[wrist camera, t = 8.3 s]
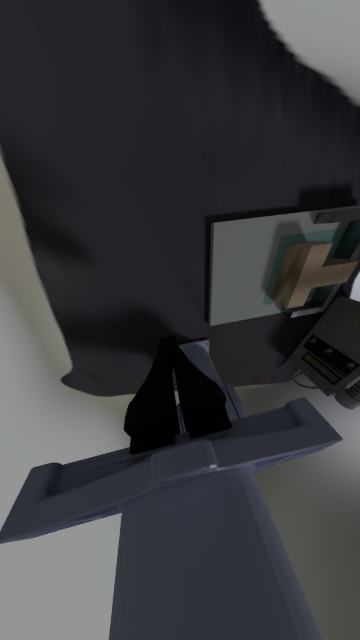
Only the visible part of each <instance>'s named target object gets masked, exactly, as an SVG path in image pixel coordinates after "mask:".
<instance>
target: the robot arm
mask: <svg viewBox="0 0 360 640" xmlns="http://www.w3.org/2000/svg"><path fill="white" fill-rule="evenodd" d="M172 364H173V368H174V371H175V376H176V382H177V389H178V395H179V401H180V403H179V404H178V405H177V406H176V400H175V393H174V387H173V375H172ZM225 388H226V389H225ZM226 390H227V391H226ZM124 431H125V432H126V433H127V434H128V435H129V436H130V437H131V442H130V447H129V448H125V449H121V450H117V451H114V452H110V453H106V454H102V455H98V456H95V457H91V458H87V459H83V460H79V461H76V462H72V463H68V464H64V465H62V464H59V463H49V464H45V465H42V466H38V467H34V468H32V469H31V471H30V473H29V475H28V477H27V479H26V481H25V483H24V485H23V487H22V489H21V491H20V493H19V495H18V497H17V499H16V501H15V503H14V505H13V507H12V509H11V511H10V513H9V515H8V517H7V519H6V521H5V523H4V525H3V527H2V529H1V531H0V544H1V543H7V542H13V541H19V540H24V539H30V538H34V537H38V536H41V535H45V534H48V533H51V532H55V531H58V530H62V529H65V528H69V527H72V526H76V525H79V524H83V523H86V522H90V521H94V520H97V519H101V518H105V517H108V516H112V515H115V514H119V513H122V517H121V528H120V538H119V547H118V557H117V566H116V576H115V586H114V596H113V606H112V615H111V625H110V634H109V640H323V638H322V636H321V634H320V631H319V629H318V627H317V624H316V622H315V619H314V617H313V615H312V612H311V610H310V607H309V605H308V603H307V600H306V598H305V596H304V593H303V591H302V588H301V586H300V584H299V581H298V579H297V576H296V574H295V572H294V570H293V567H292V564H291V562H290V560H289V557H288V555H287V553H286V550H285V548H284V545H283V543H282V541H281V538H280V536H279V533H278V531H277V529H276V526H275V524H274V522H273V519H272V517H271V514H270V512H269V510H268V507H267V505H266V502H265V500H264V498H263V495H262V493H261V491H260V488H259V486H258V483H257V481H256V479H255V476H254V474H253V473H254V472H257V471H260V470H263V469H266V468H269V467H272V466H275V465H277V464H280V463H284V462H287V461H289V460H292V459H296V458H299V457H302V456H305V455H308V454H311V453H314V452H318V451H321V450H323V449H325V448H327V447H329V446H331V445H333V444H335V443H337V442H340V441H342V440H343V439H342V437H341V436H340V435H339V434H338V433H337V432H336V431H335V429H334V428H333V427H332V426H331V425H330V424H329V423H328V422H327V421H326V420H325V419H324V417H323V416H321V414H320V413H319V412H318V411H317V410H316V409H315V408H314V407H313V405H311V403H310V402H309V401H308V400H307V399H306V398H304V397H303V398H299V399H295V400H291V401H289V402H288V403H287V404H286V405H285V406H284V407H281V408H277V409H273V410H269V411H265V412H262V413H258V414H254V415H250V416H247V413H246V411H245V409H244V407H243V405H242V403H241V401H240V399H239V397H238V395H237V393H236V392H235V390H234V389H233V387H231V386H229V385H225V387H224V385H223V383H222V381H221V380H220V379H219V376H218V374H217V372H216V370H215V368H214V366H213V363H212V361H211V359H210V357H209V340H208V339H205V340H200V341H195V342H190V343H185V344H180V345H178V343H177V341H176V339H175V337H174V336H170V337H165V338H161V339H160V344H159V348H158V352H157V355H156V358H155V361H154V363H153V366H152V368H151V370H150V372H149V374H148V376H147V378H146V380H145V381H144V383H143V385H142V386H141V388H140V389H139V391H138V392H137V394H136V395H135V397H134V398H133V399H132V401H131V402H130V404H129V405H128V408H127V412H126V416H125V423H124ZM147 458H148V459H147ZM145 459H146V460H145Z"/></svg>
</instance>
